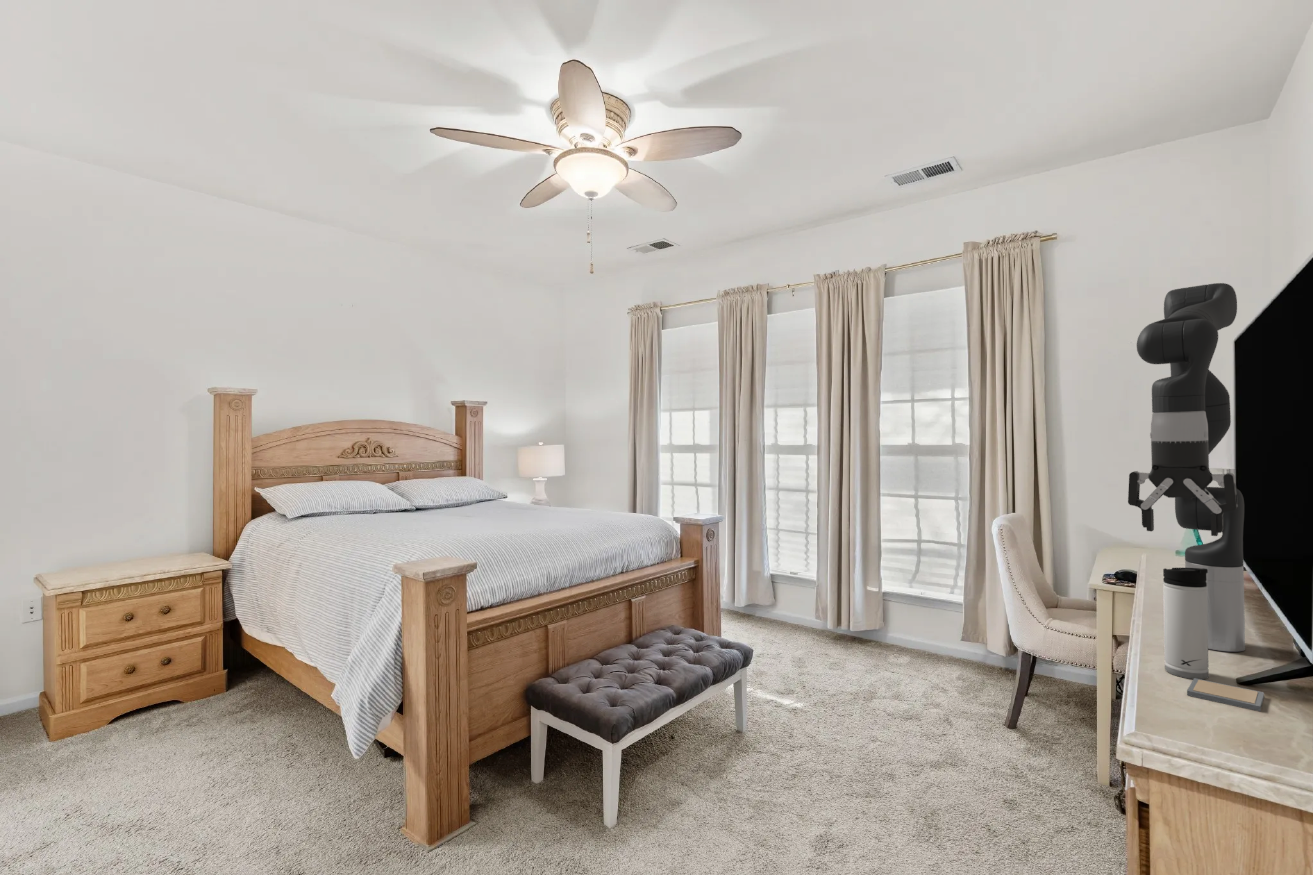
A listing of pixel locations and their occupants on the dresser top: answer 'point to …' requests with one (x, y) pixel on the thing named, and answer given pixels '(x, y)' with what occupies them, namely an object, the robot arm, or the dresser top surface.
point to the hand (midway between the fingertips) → (1181, 532)
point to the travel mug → (1186, 622)
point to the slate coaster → (1226, 694)
